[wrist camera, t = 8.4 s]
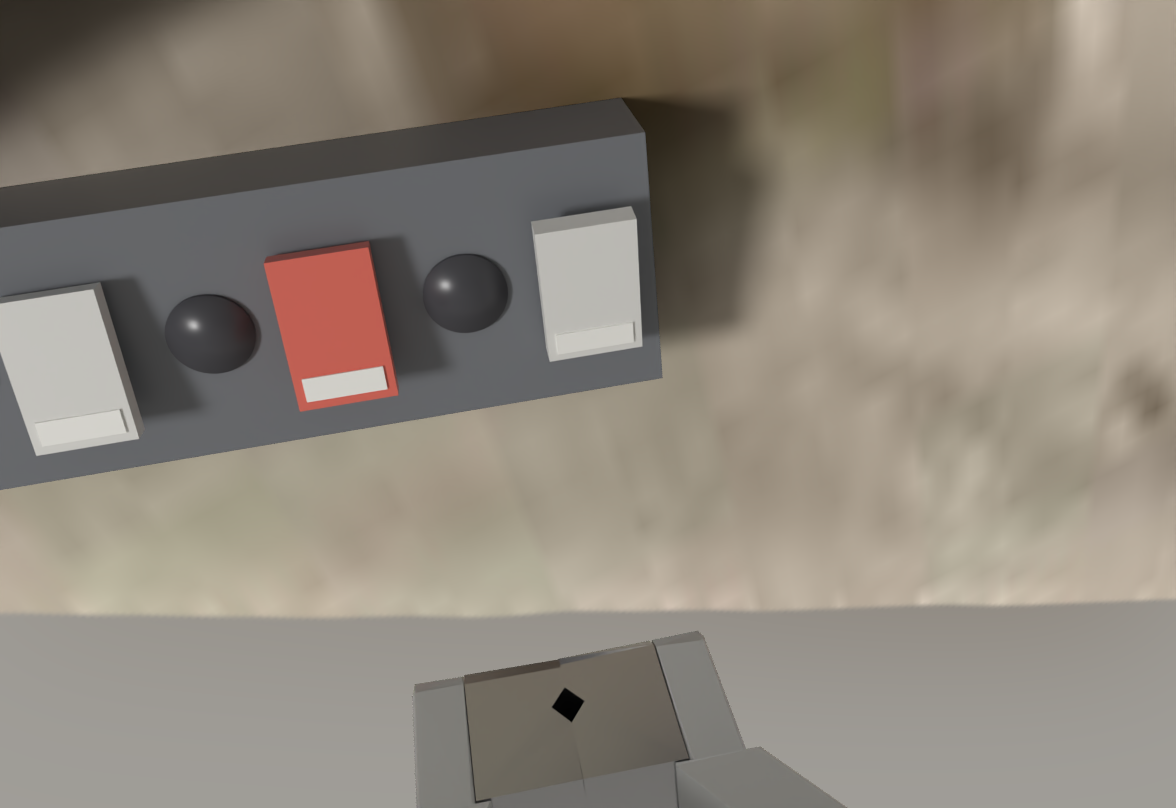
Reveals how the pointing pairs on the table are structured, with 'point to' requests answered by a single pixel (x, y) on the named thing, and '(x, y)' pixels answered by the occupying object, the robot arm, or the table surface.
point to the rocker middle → (332, 325)
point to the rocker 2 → (589, 282)
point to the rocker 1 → (67, 369)
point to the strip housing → (318, 220)
